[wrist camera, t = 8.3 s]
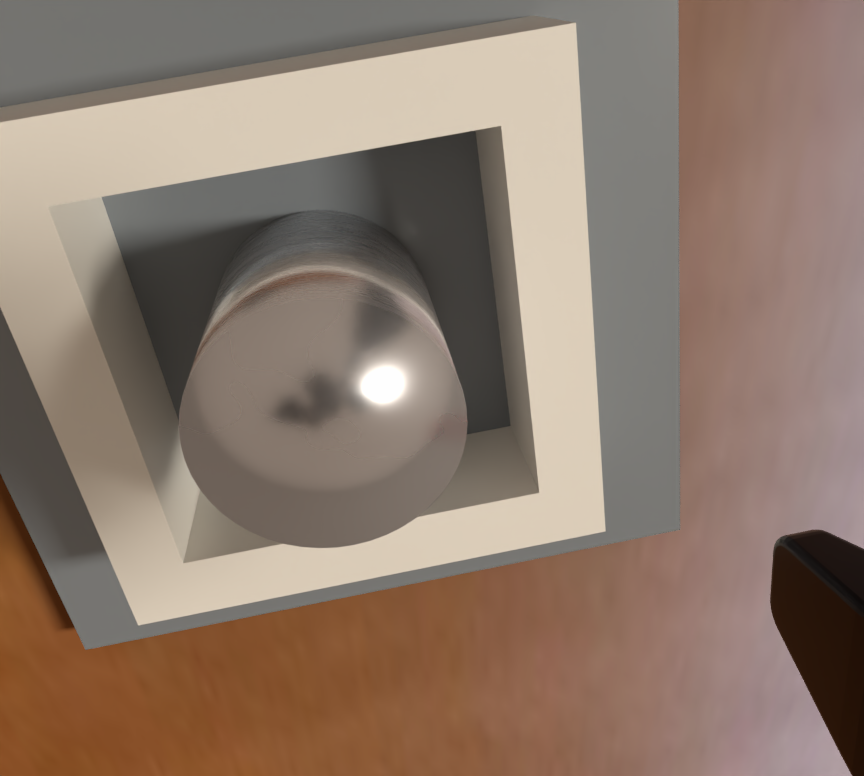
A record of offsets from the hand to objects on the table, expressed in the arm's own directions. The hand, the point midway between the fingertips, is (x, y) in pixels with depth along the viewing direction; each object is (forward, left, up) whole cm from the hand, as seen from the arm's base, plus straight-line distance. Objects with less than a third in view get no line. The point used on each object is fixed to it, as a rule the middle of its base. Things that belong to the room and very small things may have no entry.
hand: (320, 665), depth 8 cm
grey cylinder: (0, 0, -9) cm, 9 cm away
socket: (0, 0, -10) cm, 10 cm away
